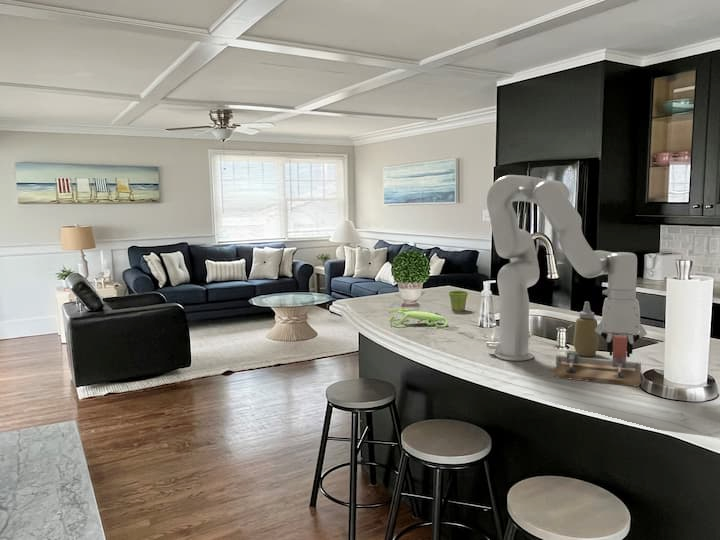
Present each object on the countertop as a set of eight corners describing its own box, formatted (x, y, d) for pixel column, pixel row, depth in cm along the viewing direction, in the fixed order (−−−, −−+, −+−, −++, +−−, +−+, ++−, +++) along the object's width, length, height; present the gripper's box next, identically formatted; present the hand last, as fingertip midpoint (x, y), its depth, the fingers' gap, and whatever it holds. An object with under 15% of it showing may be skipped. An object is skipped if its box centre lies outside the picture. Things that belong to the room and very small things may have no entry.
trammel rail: (553, 370, 168) (554, 357, 167) (556, 362, 176) (556, 349, 175) (641, 379, 158) (642, 365, 158) (640, 370, 166) (640, 356, 166)
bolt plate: (553, 377, 165) (553, 373, 165) (558, 364, 178) (558, 360, 178) (640, 386, 156) (641, 382, 156) (638, 372, 168) (639, 368, 168)
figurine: (390, 318, 254) (389, 306, 253) (449, 319, 249) (449, 307, 248) (383, 327, 236) (383, 314, 236) (447, 329, 231) (447, 315, 230)
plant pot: (467, 312, 262) (467, 294, 261) (447, 311, 264) (447, 293, 263) (469, 308, 271) (469, 290, 270) (449, 308, 273) (449, 290, 272)
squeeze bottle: (602, 353, 189) (603, 301, 186) (593, 359, 183) (595, 304, 180) (578, 350, 194) (579, 298, 192) (568, 355, 188) (570, 302, 186)
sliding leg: (612, 375, 161) (613, 341, 160) (612, 366, 170) (613, 334, 168) (626, 376, 160) (627, 343, 159) (625, 367, 168) (626, 335, 167)
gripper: (590, 295, 165) (588, 355, 167) (654, 298, 158) (651, 361, 160) (591, 291, 171) (589, 349, 174) (652, 293, 164) (650, 354, 167)
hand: (619, 354), depth 167 cm, fingers open, 4 cm apart
